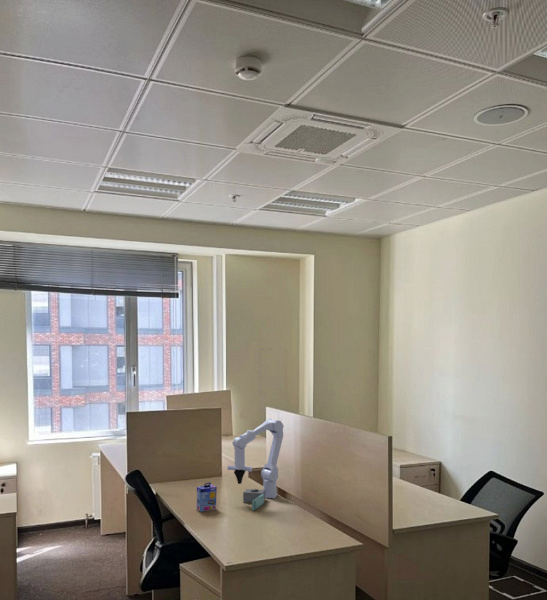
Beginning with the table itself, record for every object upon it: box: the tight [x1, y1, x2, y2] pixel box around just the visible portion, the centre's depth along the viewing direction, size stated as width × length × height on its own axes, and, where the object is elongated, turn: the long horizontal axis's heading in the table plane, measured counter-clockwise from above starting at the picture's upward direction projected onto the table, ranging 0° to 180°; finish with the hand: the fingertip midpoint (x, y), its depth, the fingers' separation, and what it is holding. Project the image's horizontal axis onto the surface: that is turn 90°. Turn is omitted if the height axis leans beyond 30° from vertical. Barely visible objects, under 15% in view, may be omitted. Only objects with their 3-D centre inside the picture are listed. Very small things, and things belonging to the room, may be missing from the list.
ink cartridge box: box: [196, 482, 218, 513], centre depth 317 cm, size 10×6×14 cm, turn 122°
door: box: [251, 494, 265, 512], centre depth 320 cm, size 1×16×5 cm, turn 159°
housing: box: [242, 488, 266, 504], centre depth 333 cm, size 8×11×6 cm
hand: (239, 483), depth 331 cm, fingers closed
